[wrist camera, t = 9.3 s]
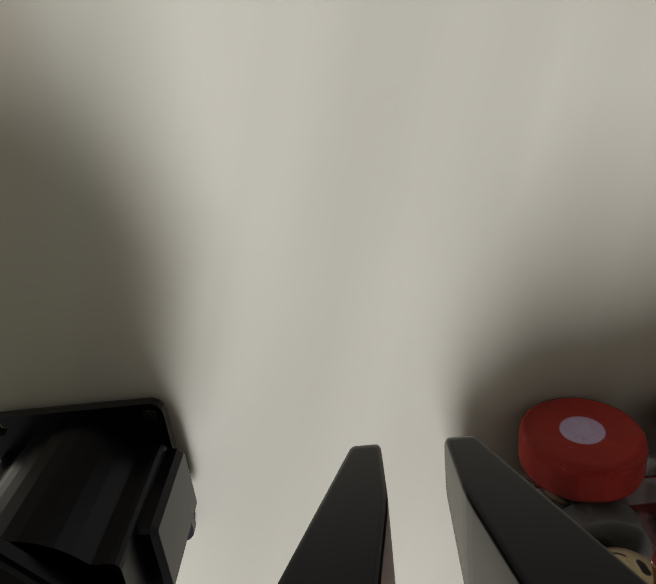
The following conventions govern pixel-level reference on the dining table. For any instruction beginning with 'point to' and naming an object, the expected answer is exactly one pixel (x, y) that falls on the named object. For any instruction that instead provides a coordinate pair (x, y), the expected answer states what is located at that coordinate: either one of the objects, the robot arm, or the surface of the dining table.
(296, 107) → the dining table surface
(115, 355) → the dining table surface
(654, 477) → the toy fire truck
